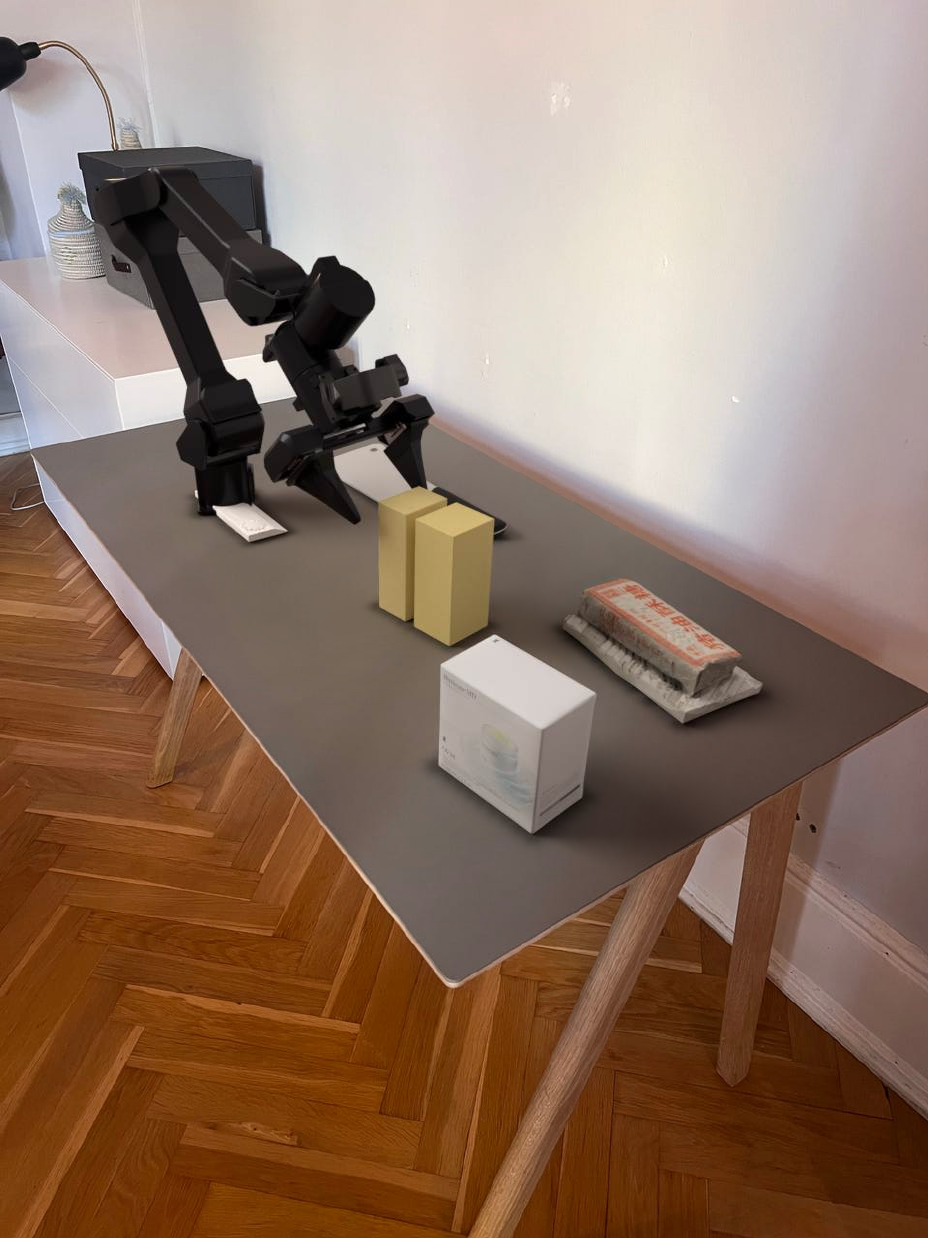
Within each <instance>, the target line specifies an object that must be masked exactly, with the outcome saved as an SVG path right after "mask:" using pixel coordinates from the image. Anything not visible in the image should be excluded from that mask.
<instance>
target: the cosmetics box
mask: <svg viewBox="0 0 928 1238" xmlns="http://www.w3.org/2000/svg"><path fill="white" fill-rule="evenodd" d="M439 687H440V692H439V693H440V694H439V730H438V731H439V733H438V735H439V737H438V767H440V768H441V769H442V770H444V771H445V772H446V773H448V774H449V775H450V776H452V777H453V778H455V779H456V780H457V781H459V782H460V783H462V784H463V785H464V786H465V787H467V788H468V789H469V790H471V791H472V792H473V793H475V794H476V795H478V796H479V797H480V798H482V799H483V800H484V801H486V802H487V803H489V804H490V805H491V806H493V807H494V808H496V809H497V810H498V811H499V812H501V813H502V814H504V815H505V816H506V817H508V818H509V819H510V820H512V821H513V822H514V823H516V824H517V825H518V826H520V827H521V828H523V829H524V830H525V831H527V832H528V833H529V834H535V833H536V832H537V831H539V830H540V829H542V828H543V827H545V825H547V824H548V823H549V822H551V821H552V820H553V819H555V818H556V817H557V816H559V815H561V813H563V812H564V811H565V810H567V809H568V808H570V807H571V806H572V805H575V803H577V802H578V801H579V800H581V799H582V798H583V795H584V785H585V775H586V767H587V762H588V761H587V760H588V753H589V746H590V739H591V733H592V727H593V725H592V724H593V719H594V713H595V706H596V702H597V701H596V700H597V697H598V696H597V692H595V691H594V690H592V689H590V688H588V687H587V686H585V685H583V684H582V683H580V682H579V681H576V680H575V679H573V678H571V677H570V676H568V675H566V674H564V673H562V672H560V671H559V670H557V669H555V668H553V667H552V666H550V665H548V664H547V663H545V662H543V661H542V660H540V659H538V658H537V657H534V656H533V655H531V654H530V653H528V652H526V651H525V650H523V649H521V648H519V647H518V646H516V645H514V644H512V643H511V642H509V641H507V640H506V639H504V638H502V637H501V636H499V635H497V634H492V635H490V636H489V637H487V638H486V639H483V640H482V641H479V642H478V643H476V644H474V645H472V646H470V647H469V648H467V649H465V650H464V651H461V652H460V653H458V654H456V655H454V656H452V657H451V658H449V659H447V660H446V661H443V662H442V663H441V664H440V685H439Z"/></svg>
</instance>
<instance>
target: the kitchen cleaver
mask: <svg viewBox="0 0 928 1238" xmlns="http://www.w3.org/2000/svg"><path fill="white" fill-rule="evenodd" d="M386 447H387V446H386V445H385V444H383V443H371V444H369V445H366V446H363V447H359V448H356V449H352V450H350V451H347V452H344V453H342V454H339V455H336V456H334V462H335V469H336V471H337V473H338V475H339V477H340V479H341V480H342V482H343V483H345V484H346V485H348V486H349V487H351V488H353V489H355V490H356V491H358V492H359V493H362V494H363V495H365V496H367V497H368V498H369V499H371V500H373V501H374V502H376V503H378V502H379V501H381V500H384V499H387V498H389V497H392V496H395V495H397V494H400V493H403V492H405V491H408V490H410V489H412V488H411V487H410V486H409V485H408V483H407V482H406V481H405V479H404V478H403V477H402V475H401V474H400V473H399V472H398V470H397V469H396V468H395V466H394V465H393V464H392V462H391V461H390V460H389V459H388V457H387V456H386V455H385V453H384V452H383V450H384V449H385V448H386ZM426 482H427V487H428V490H429V491H431V492H434V493H436V494H438V495H440V496H443V497H445V498H447V506H449V505H451V504H454V503H456V502H457V503H459V504H461V505H464V506H466V507H468V508H471V509H473V510H475V511H477V512H480V513H482V514H484V515H487V516H489V517H491V518H493V519H494V533H493V539H498V538H500V537H501V536H502V535H503V534H504V533H505V532H506V530H507V527H508V525H507V522H506V521H504V520H502V519H501V518H498V517H497V516H494V515H492V514H491V513H489V512H487V511H485V510H483V509H482V508H480V507H478V506H476V505H474V504H472V503H471V502H469V501H467V500H465V499H463V498H461V497H459V496H458V495H456V494H454V493H452V492H450V491H449V490H446V489H444V488H442V487H440V486H436V485H435V484H433V483H432V482H430V481H428V480H426Z"/></svg>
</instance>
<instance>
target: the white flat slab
mask: <svg viewBox="0 0 928 1238" xmlns="http://www.w3.org/2000/svg"><path fill="white" fill-rule="evenodd" d="M194 495H195V498H197V499H198V494H197V489H196V490H194ZM213 509H215V510H216V514H215V515H216V516H217V517H219V519H221V520H222V521H223V523H225V524H226V525H227V526H229V527H230V528H231V529H232V530H234V532H236V533H237V534H239V535H240V536H241V537H243V539H245V540H246V541H247V542H248V543H250V542H255V541H259V540H261V539H265V538H270V537H273V536H276V535H281V534H284V533H287V532H289V531H288V530H287V529H286V528H284V527H283V526H282V525H281V524H279V522H277V521H276V520H274V519H273V518H272V517H271V516H269V515H268V514H267V513H266V512H264V511H263V510H262V509H260V508H259V507H258V506H257V505H256V504H254V502H252V507H251V506H250V505H248V504H246V503H240V504H237V505H233V506H225V507H224V506H223V507H219V506H213Z"/></svg>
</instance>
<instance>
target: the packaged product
mask: <svg viewBox="0 0 928 1238" xmlns="http://www.w3.org/2000/svg"><path fill="white" fill-rule="evenodd" d="M579 600H580V603H579V605H578V609H577V612H576V613H574V614H567V615H566V617H565V618H564V621H563V625H562V629H563V630H564V631H566V632H567V633H568V634H569V635H571V636H572V637H573V638H574V639H576V640H577V641H578V642H580V643H581V644H582V645H583V646H585V648H587V649H588V650H589V651H590V652H591V653H592V654H593V655H594V656H595V657H597V658H598V659H599V660H601V662H602V663H604V664H605V665H606V666H607V667H608V668H609V669H610V670H611V671H612V672H613V673H614V674H615V675H617V676H618V677H620V678H622V679H623V680H624V681H626V682H628V683H629V684H631V685H632V686H633V687H635V688H636V689H638V690H639V691H640V692H641V693H643V694H644V695H645V696H647V697H648V698H649V699H650V700H651V701H652V702H654V703H656V704H657V705H658V706H659V707H661V709H663V710H664V711H666V712H667V713H668V714H670V715H671V716H672V717H673V718H675V720H677V721H679V723H681V724H685V723H687V722H690V721H692V720H695V719H696V718H699V717H701V716H704V715H707V714H709V713H711V712H713V711H716V710H718V709H720V708H723V707H726V706H728V705H730V704H734V703H735V702H738V701H741V700H743V699H746V698H748V697H752V696H754V695H758V694H759V693H760V692H761V689H762V687H763V684H764V683H763V682H761V681H759V680H757V679H756V678H754V677H752V676H751V674H749V672H747V671H746V670H744V669H742V668H741V667H738V666H739V664H740V663H741V662H742V661H743V658H744V657H743V656H742V654H740V653H739V652H738V651H737V650H736V649H734V648H732V647H731V646H730V645H728V644H726V643H725V642H724V641H722V640H721V639H720V638H719V637H717V636H715V635H713V634H712V633H711V632H710V631H708V630H706V629H705V628H703V626H701V625H699V624H698V623H696V622H695V621H694V620H692V619H691V618H689V617H687V615H685V614H684V613H681V612H680V611H678V610H677V609H676V608H675V607H673V606H672V605H670V604H668V603H667V602H666V601H664V600H663V599H662V598H659V597H658V596H657V595H655V593H652V592H651V591H650V590H648V589H647V588H646V587H644V586H643V585H642V584H640V583H639V582H636V581H634V580H632V579H625V578H618V579H616V580H612V581H610V582H606V583H601V584H597V585H595V586H592V587H590V588H586V589H584V590H582V591H581V595H580V597H579Z"/></svg>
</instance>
